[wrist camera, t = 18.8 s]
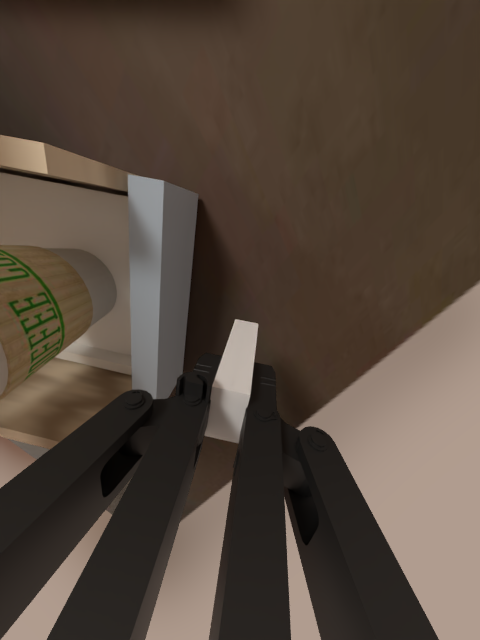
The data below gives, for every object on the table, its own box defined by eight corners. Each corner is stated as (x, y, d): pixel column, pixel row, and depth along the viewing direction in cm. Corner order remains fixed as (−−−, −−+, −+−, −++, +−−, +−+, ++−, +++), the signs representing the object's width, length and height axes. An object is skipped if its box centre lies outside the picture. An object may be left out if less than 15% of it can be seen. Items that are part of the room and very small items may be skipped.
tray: (10, 334, 26) (-63, 366, 20) (-37, 150, 19) (-170, 119, 13) (182, 374, 25) (155, 418, 19) (198, 194, 18) (163, 180, 12)
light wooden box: (-3, 331, 26) (-164, 394, 17) (-55, 144, 19) (-389, 64, 10) (158, 368, 25) (87, 458, 16) (165, 185, 18) (43, 142, 9)
